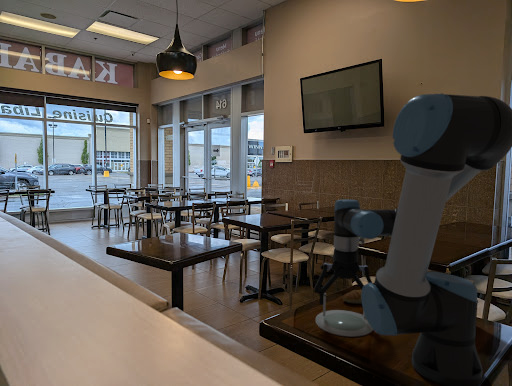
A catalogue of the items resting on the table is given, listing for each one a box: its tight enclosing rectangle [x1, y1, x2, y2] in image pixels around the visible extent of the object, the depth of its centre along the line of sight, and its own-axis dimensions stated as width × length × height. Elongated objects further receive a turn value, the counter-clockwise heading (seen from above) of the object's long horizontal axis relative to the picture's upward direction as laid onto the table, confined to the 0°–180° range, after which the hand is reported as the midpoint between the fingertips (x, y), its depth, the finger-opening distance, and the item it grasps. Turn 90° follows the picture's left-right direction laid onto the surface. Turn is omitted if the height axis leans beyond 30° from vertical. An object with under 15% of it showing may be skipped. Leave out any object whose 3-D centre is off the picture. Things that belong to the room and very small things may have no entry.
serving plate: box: [315, 309, 374, 338], centre depth 112 cm, size 18×18×1 cm
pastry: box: [342, 289, 362, 305], centre depth 130 cm, size 9×7×4 cm
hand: (344, 316), depth 112 cm, fingers open, 12 cm apart
